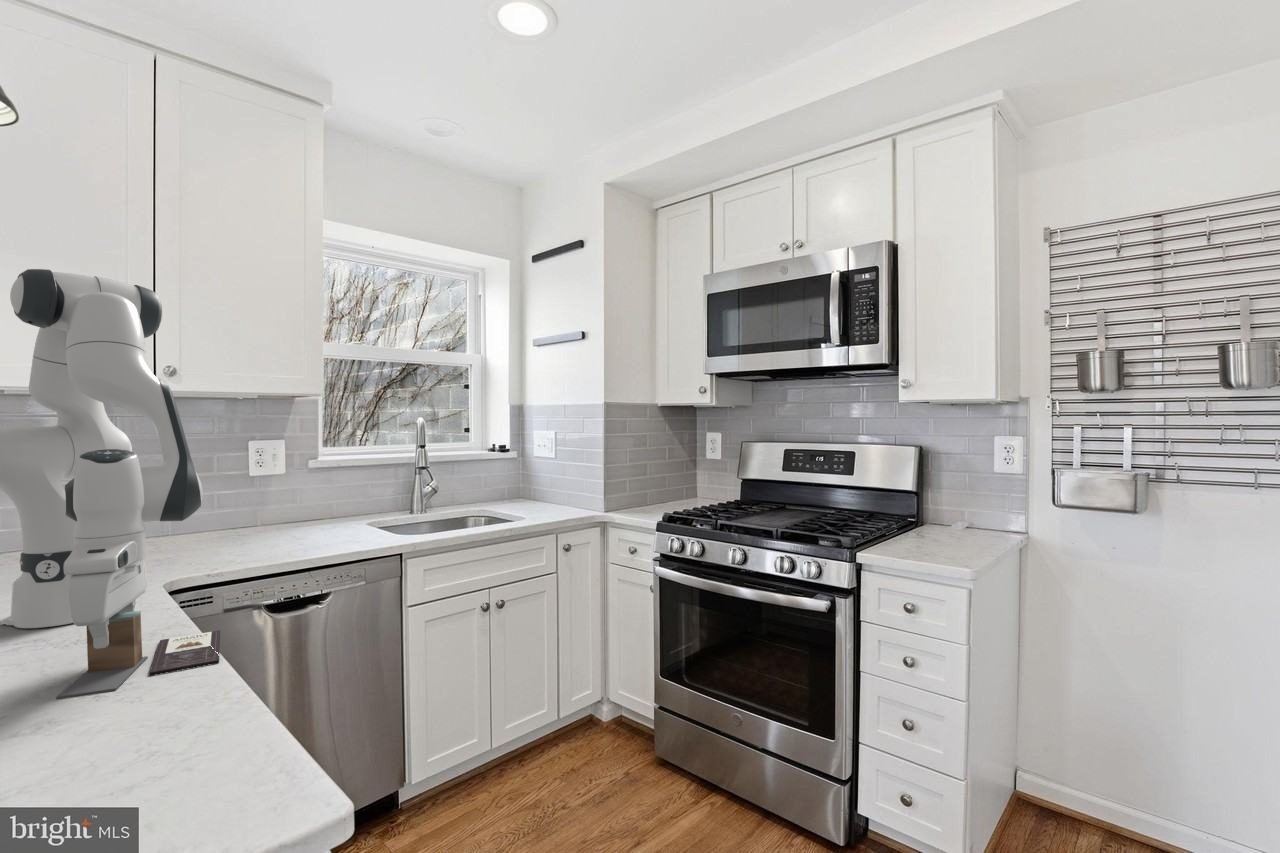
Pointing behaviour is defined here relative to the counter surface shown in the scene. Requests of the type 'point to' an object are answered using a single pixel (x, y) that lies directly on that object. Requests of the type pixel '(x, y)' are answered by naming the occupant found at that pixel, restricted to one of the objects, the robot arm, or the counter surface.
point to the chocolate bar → (186, 652)
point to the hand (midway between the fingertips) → (114, 637)
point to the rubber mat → (99, 681)
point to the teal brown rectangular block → (118, 644)
